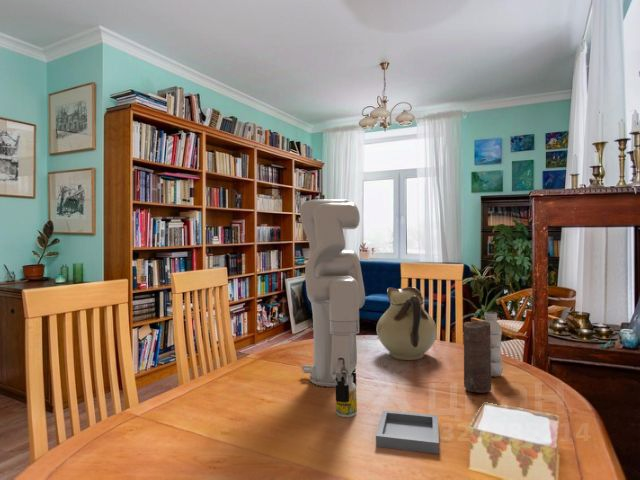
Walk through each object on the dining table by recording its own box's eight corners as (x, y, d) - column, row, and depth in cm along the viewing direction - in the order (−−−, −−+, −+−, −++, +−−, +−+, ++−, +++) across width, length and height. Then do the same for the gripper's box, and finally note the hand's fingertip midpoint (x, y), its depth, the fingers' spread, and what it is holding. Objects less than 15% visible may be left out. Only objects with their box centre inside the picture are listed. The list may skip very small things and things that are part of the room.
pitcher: (400, 343, 165) (398, 284, 164) (452, 355, 147) (450, 289, 147) (365, 356, 150) (363, 290, 149) (418, 370, 132) (416, 297, 132)
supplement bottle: (358, 409, 103) (358, 373, 103) (354, 419, 97) (353, 380, 97) (338, 407, 104) (338, 371, 104) (333, 416, 99) (332, 378, 99)
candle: (494, 397, 108) (492, 325, 108) (466, 396, 110) (464, 324, 110) (488, 387, 116) (486, 319, 116) (462, 385, 117) (460, 319, 117)
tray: (376, 446, 84) (375, 435, 84) (382, 419, 97) (382, 410, 97) (439, 454, 81) (439, 443, 81) (437, 425, 93) (437, 415, 93)
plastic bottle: (481, 377, 124) (479, 314, 124) (481, 370, 130) (479, 310, 130) (503, 380, 121) (502, 315, 121) (502, 372, 128) (501, 311, 128)
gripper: (337, 320, 110) (339, 382, 109) (321, 333, 93) (323, 406, 93) (364, 321, 108) (366, 384, 107) (352, 334, 91) (355, 408, 91)
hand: (346, 394), depth 100 cm, fingers open, 9 cm apart
